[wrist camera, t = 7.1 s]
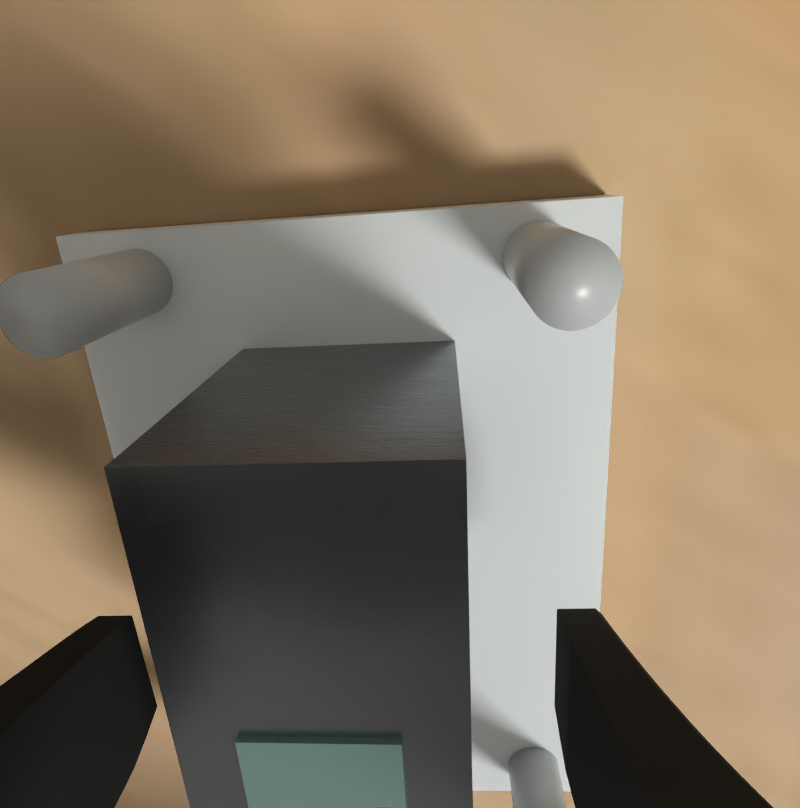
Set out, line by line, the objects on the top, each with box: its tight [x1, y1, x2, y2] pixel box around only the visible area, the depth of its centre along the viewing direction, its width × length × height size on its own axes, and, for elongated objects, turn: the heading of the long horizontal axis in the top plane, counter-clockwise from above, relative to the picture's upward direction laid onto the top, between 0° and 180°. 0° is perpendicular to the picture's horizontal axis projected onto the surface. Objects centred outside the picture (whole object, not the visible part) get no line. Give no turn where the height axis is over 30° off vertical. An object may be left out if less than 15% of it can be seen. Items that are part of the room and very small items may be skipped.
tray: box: [0, 195, 623, 808], centre depth 12 cm, size 14×10×4 cm
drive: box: [104, 341, 473, 808], centre depth 10 cm, size 9×4×5 cm, turn 3°
